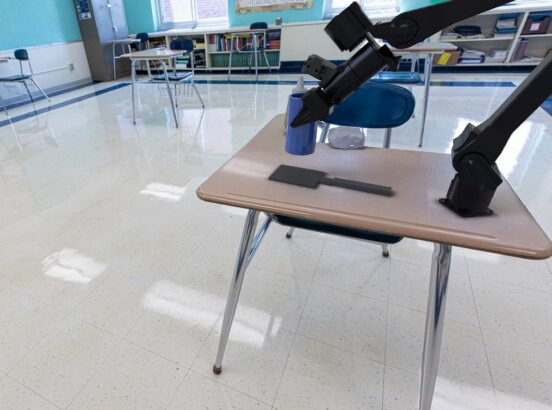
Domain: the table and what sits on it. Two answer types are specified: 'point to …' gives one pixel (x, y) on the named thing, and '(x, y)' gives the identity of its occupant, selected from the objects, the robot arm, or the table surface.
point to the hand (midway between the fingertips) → (296, 121)
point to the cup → (299, 130)
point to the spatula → (322, 180)
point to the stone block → (346, 137)
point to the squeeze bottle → (298, 89)
